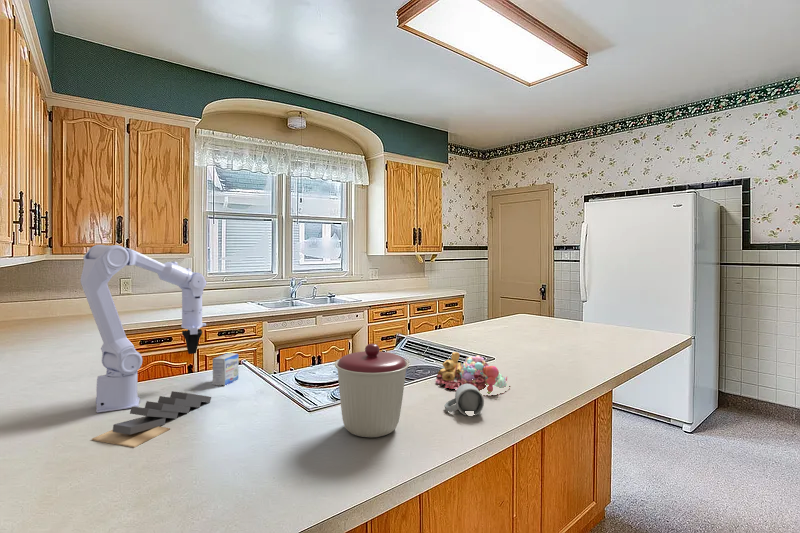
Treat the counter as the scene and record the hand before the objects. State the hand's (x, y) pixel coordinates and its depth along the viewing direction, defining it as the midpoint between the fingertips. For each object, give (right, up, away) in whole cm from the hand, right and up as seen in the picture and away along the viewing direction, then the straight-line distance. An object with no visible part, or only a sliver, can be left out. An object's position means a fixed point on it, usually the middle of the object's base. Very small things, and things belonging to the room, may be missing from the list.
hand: (192, 353), depth 136 cm
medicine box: (+8, -11, +5) cm, 15 cm away
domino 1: (+5, -11, -29) cm, 31 cm away
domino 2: (+6, -11, -25) cm, 28 cm away
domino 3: (+7, -11, -21) cm, 25 cm away
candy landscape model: (+90, -12, +10) cm, 91 cm away
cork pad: (+3, -12, -35) cm, 37 cm away
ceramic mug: (+83, -13, -16) cm, 86 cm away
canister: (+58, -13, -30) cm, 67 cm away
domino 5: (+9, -10, -13) cm, 19 cm away
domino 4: (+8, -10, -17) cm, 22 cm away
